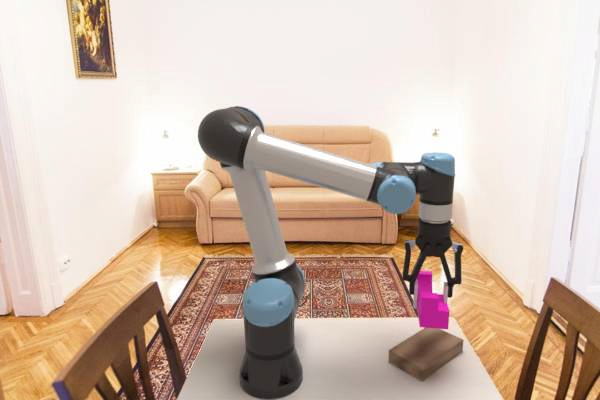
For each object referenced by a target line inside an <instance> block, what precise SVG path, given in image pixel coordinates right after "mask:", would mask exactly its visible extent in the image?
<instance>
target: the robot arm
mask: <svg viewBox="0 0 600 400" xmlns="http://www.w3.org/2000/svg"><path fill="white" fill-rule="evenodd" d="M197 139H198V140H197V141H198V144H199V146H200V148H201V150H202V151H203V153H204V154H205V155H206V156H207V157H209V158H210V159H212V160H213V161H215V162H218V163H219V164H220V167H221V169H222V170H223V171H225V172H227V173H228V174H229V176H230V177H229V178H230V181H231V182H232V186H233V190H234V193H235V196H236V200H237V204H238V207H239V211H240V214H241V217H242V220H243V224H244V227H245V231H246V235H247V238H248V241H249V245H250V248H251V251H252V254H253V259H254V263H253V266H252V267H251V274H252V275H253V276H252V277H253V278H254V279H253V281H254V282H253V283H251V284H249V286H247V287H246V289H245V290H244V293H243V296H242V304H241V305H242V313H243V325H244V327H243V328H244V340H245V341H244V343H245V352H244V356H243V359H242V362H241V365H240V369H239V382H240V386H241V387H242V389H243V390H244V391H245V392H246V393H247V394H249V395H250V396H253V397H255V398H259V399H270V400H271V399H278V398H282V397H285V396H288V395H290V394H291V393H293V392H295V391H296V390H297V389H298V388H299V387H300V385H301V384H302V382H303V373H304V372H303V370H304V369H303V365H302V362H301V359H300V357H299V354H298V353H297V350H296V346H295V345H296V343H295V341H296V340H295V339H296V338H295V320H296V319H295V318H296V315H297V313H298V309H299V306H300V304H301V301H302V298H303V297H304V293H305V290H306V288H305V287H306V278H305V274H304V272H303V270H302V268H301V267H300V266H299V265H298V264H297V261H296V258H295V256H294V255H293V254H292V253H289V252H288V249H287V246H286V242H285V239H284V235H283V232H282V228H281V224H280V221H279V217H278V213H277V209H276V206H275V201H274V198H273V195H272V192H271V189H270V184H269V180H268V177H267V173H266V172H269V173H272V174H275V175H278V176H282V177H286V178H288V179H293V180H296V181H299V182H303V183H306V184H309V185H313V186H316V187H319V188H322V189H326V190H329V191H331V192H332V191H333V192H335V193H339V194H341V195H342V194H343V195H346V196H349V197H353V198H357V199H360V200H363V201H367V202H370V203H373V204H374V205H379V206H380V207H381V208H382V209H383V210H384V211H385V212H387V213H389V214H392V215H401V214H404V213H406V212H408V211H409V210H410V209H412V207H413V206H414V204H415V203H416V198H417V195H419V199H418V200H419V201H418V217H419V219H418V220H417V221H418V222H417V236H416V237H415V238H414V239H413V240H408V239H404V243H403V244H404V249H405V254H404V260H403V261H404V262H403V267H402V268H403V269H402V280H403V281H404V282H406V281H407V282H408V283H409V286H408V287H409V288H408V290H409V295H411V296H413V301H412V304H413V305H412V306H413V309H415V310H417V292H418V281H417V280H416V279H417V276H418V274H419V272H420V271H422V270H421V269H422V267H423V265H424V263H425V261H426V259H427V258H432V257H435V258H439V260H440V262H441V265H442V268H443V272H444V275H445V279H446V281H443V289H442V290H443V291H442V295H443V298H444V302H445V303H447V304H448V298H452V297H453V291H454V287H455V285H461V284H462V253H463V251H464V246H463V243H462V242H459V241H458V242H456V241H452V238H451V236H452V235H451V234H452V232H451V231H452V221H451V220H452V218H453V200H454V188H455V177H456V170H455V168H456V159H455V157H454V156H453V155H452V154H451V153H447V152H425V153H423V154H422V155H421V157H420V161H417V162H399V161H397V162H396V161H394V162H393V161H391V162H390V161H389V162H388V161H377V162H371V163H369V162H368V163H367V162H363V161H362V160H357V159H354V158H350V157H347V156H344V155H340V154H336V153H333V152H329V151H327V150H323V149H319V148H316V147H313V146H309V145H306V144H303V143H301V142H300V143H299V142H295V141H292V140H288V139H286V138H282V137H279V136H275V135H272V134H268V133H266V132H265V125H264V123H263V120H262V119H261V117H260V116H259V114H257V112H255V111H254V110H252V109H250V108H248V107H245V106H238V105H236V106H230V107H225V108H219V109H216V110H213V111H211V112H209V113H208V114H206V115H205V116H204V117H203V118H202V120H201V122H200V124H199V125H198V130H197ZM415 246H416V247H417V248H418V250H420V251H419V255H418V257H417V259H416V261H415V264H414V267H413V269H412V270H411V273H410V274H409V272H410V267H411V266H410V263H411V259H412V250H414V249H415V248H414V247H415ZM450 248H452V251H453V253H454V255H453V256H454V257H453V258H454V277H452V274H451V271H450V267H449V265H448V261H447V257H446V255H445V254H446V252H448V250H449V249H450Z"/></svg>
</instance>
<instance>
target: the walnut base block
mask: <svg viewBox="0 0 600 400" xmlns="http://www.w3.org/2000/svg"><path fill="white" fill-rule="evenodd" d="M463 350H464V339H463V338H461V337H459V336H456V335H454V334H452V333H450V332H447V331H446V330H444V329H437V328H424V327H423V328H422V329H421V330H419V331H418V332H415V333H414V334H412V335H411V336H410V337H408V338H406V339H404V340H403V341H401V342H400V343H398V344H397V345H394V346H393V347H392V348H390V349H388V363H389V364H391V365H392V366H394V367H396V368H397V369H399V370H401V371H403V372H404V373H406V374H408V375H409V376H411V377H413V378H415V379H417V380H419V381H420V382H425V381H426V380H427V379H428V378H429V377H431V376H432V375H434V374H435V373H436V372H437V371H439V370H440V369H441V368H443V367H444V366H445V365H447V364H448V363H449V362H450V361H452V360H454V359H455V358H456V357H457V356H459V355H460V354H462V353H463Z"/></svg>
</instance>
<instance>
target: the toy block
mask: <svg viewBox="0 0 600 400" xmlns="http://www.w3.org/2000/svg"><path fill="white" fill-rule="evenodd" d="M416 280H417V281H418V292H417V309H416V311H417V312H416V313H417V319H418V324H419V328H423V329H424V328H437V329H441V330H449V321H450V309H449V306H448V302H447V303H445V302H444V298H443V293H442V294H441V293H440V294H439V293H436V292H433V272H432V271H429V270H428V271H427V270H420V272H419V274H418V276H417V279H416Z"/></svg>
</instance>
